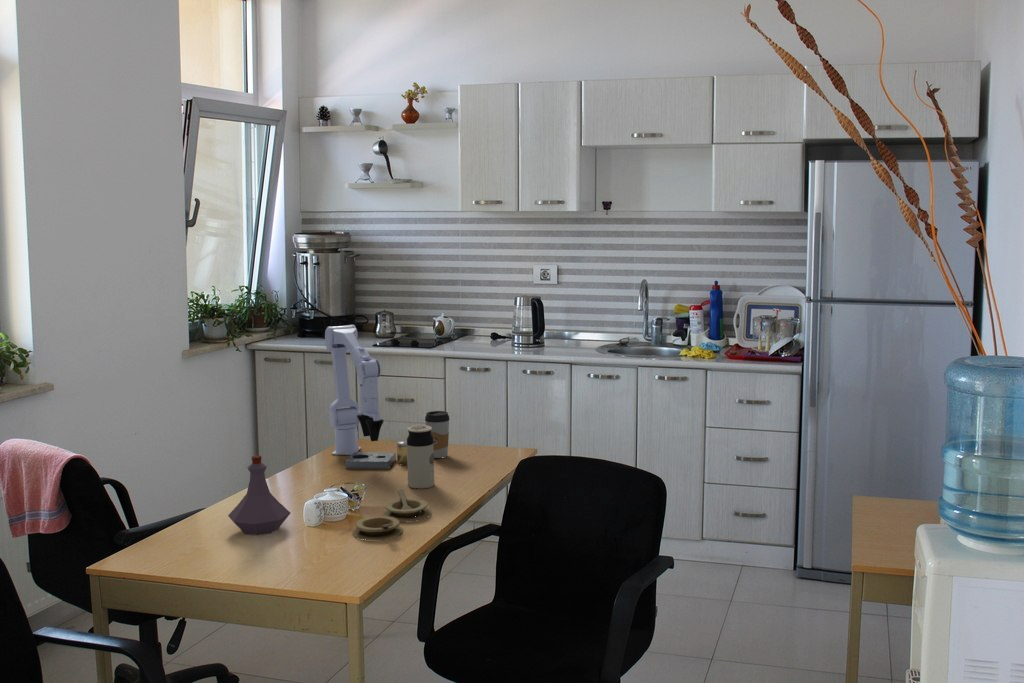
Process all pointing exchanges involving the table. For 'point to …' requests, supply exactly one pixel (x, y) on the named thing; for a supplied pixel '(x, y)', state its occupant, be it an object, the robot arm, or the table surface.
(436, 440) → the coffee cup
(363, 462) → the block
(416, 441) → the travel mug
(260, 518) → the flask
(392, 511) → the tableware set
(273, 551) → the table surface
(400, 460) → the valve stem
